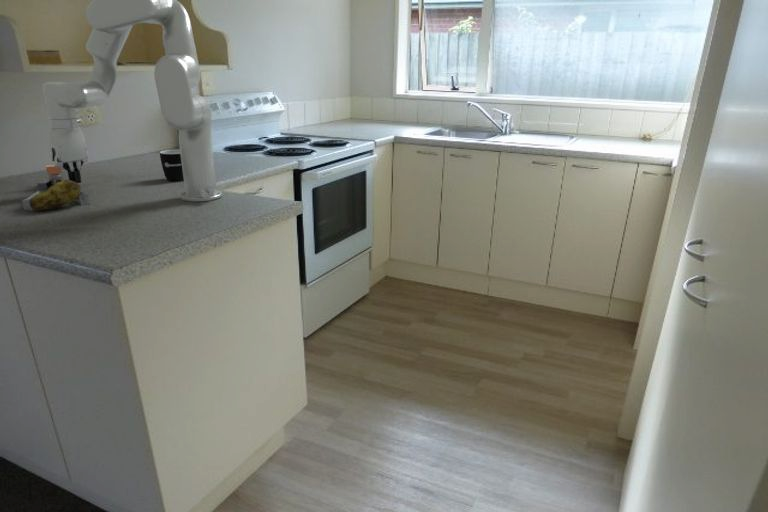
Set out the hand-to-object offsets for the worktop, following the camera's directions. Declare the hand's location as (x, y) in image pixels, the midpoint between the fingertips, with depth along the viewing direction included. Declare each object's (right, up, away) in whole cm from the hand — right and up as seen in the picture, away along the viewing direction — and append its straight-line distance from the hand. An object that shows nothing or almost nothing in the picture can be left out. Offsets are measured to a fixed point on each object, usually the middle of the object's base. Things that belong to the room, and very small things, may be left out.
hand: (75, 182), depth 168 cm
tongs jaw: (+1, -5, -3) cm, 6 cm away
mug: (+25, +4, +22) cm, 34 cm away
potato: (+4, -10, -15) cm, 18 cm away
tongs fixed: (-9, -4, -2) cm, 10 cm away
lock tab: (-11, +4, +7) cm, 13 cm away
